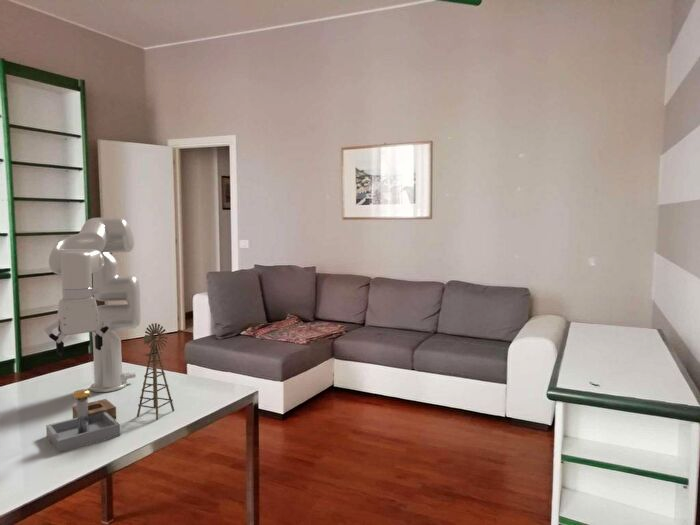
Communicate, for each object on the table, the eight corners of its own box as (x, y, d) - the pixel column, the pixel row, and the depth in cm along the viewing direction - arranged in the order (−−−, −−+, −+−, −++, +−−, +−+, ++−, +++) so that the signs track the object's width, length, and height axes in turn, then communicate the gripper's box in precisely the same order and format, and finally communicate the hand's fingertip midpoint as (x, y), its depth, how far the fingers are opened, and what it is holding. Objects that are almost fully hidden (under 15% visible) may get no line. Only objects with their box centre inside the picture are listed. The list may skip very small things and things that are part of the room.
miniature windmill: (175, 410, 161) (173, 322, 158) (158, 420, 153) (155, 327, 150) (153, 407, 164) (151, 320, 161) (135, 416, 156) (132, 325, 153)
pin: (89, 428, 145) (87, 388, 144) (93, 433, 142) (91, 391, 141) (73, 432, 142) (71, 391, 141) (77, 437, 139) (75, 395, 138)
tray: (105, 421, 152) (104, 410, 152) (120, 435, 142) (119, 424, 142) (46, 436, 141) (46, 425, 141) (58, 452, 131) (57, 441, 131)
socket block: (106, 410, 161) (105, 398, 161) (116, 419, 154) (115, 407, 153) (72, 418, 154) (72, 406, 154) (81, 428, 147) (81, 415, 147)
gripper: (105, 289, 147) (108, 344, 149) (39, 295, 135) (42, 355, 137) (113, 292, 142) (116, 349, 143) (45, 299, 130) (49, 361, 131)
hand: (80, 352), depth 140 cm, fingers open, 9 cm apart
